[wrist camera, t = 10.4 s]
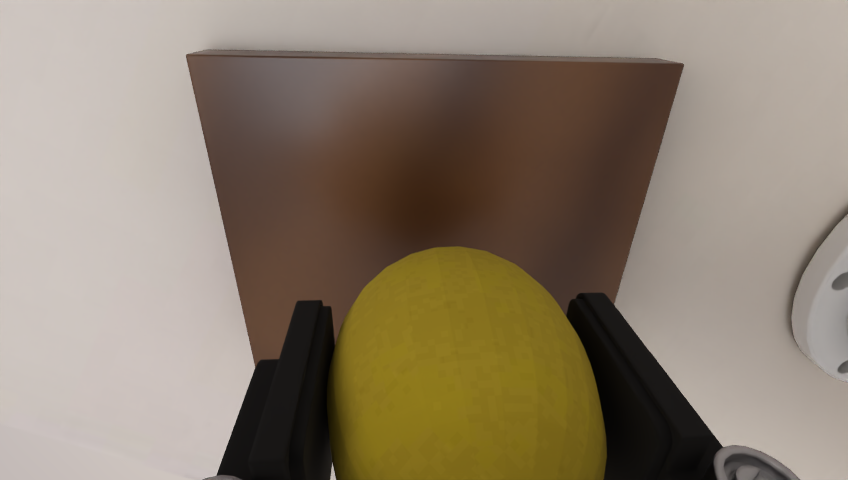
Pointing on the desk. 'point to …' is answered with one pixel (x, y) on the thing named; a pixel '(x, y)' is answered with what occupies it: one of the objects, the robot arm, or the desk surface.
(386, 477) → the lemon
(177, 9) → the desk surface
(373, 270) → the board
